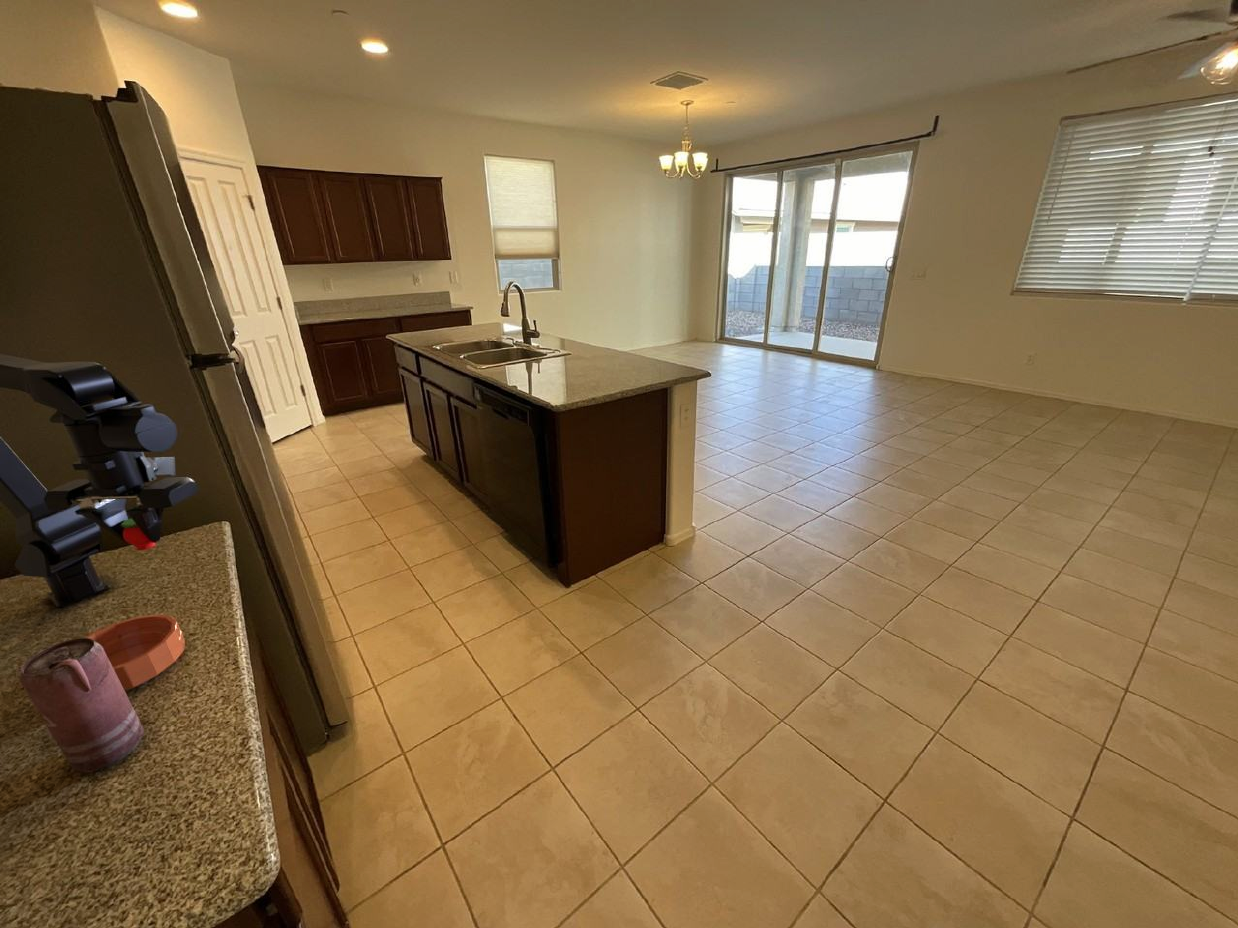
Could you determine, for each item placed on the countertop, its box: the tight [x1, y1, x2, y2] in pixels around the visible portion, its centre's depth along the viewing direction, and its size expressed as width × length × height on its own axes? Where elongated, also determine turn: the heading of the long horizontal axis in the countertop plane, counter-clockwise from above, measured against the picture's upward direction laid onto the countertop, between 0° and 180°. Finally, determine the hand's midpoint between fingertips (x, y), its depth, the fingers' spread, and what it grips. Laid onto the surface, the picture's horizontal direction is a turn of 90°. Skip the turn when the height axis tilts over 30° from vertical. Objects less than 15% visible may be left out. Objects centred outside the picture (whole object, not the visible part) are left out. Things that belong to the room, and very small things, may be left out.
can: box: [18, 637, 145, 773], centre depth 55 cm, size 6×6×14 cm
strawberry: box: [121, 517, 156, 551], centre depth 80 cm, size 4×4×5 cm
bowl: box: [84, 613, 186, 692], centre depth 69 cm, size 12×12×4 cm
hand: (143, 541), depth 80 cm, fingers closed on strawberry, 4 cm apart
